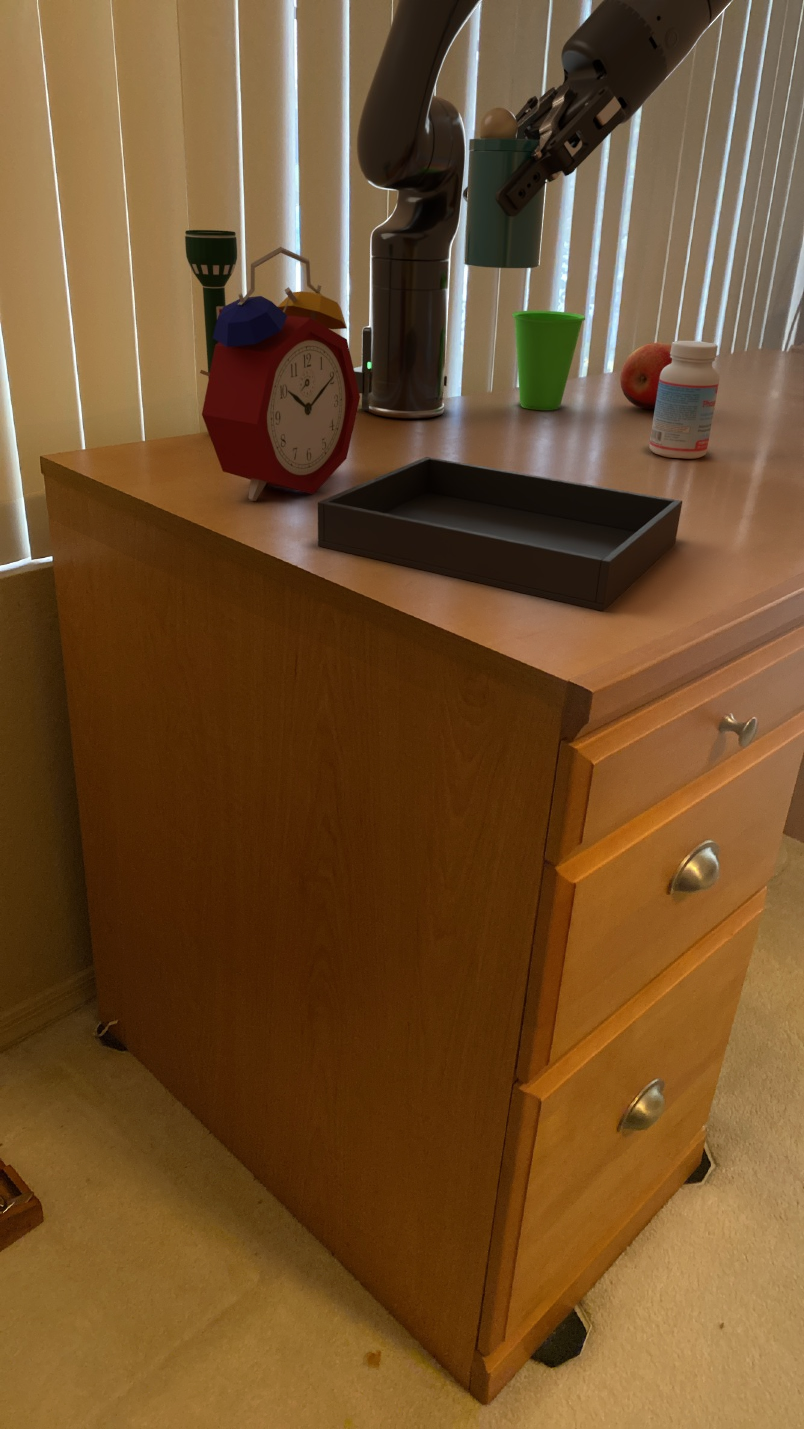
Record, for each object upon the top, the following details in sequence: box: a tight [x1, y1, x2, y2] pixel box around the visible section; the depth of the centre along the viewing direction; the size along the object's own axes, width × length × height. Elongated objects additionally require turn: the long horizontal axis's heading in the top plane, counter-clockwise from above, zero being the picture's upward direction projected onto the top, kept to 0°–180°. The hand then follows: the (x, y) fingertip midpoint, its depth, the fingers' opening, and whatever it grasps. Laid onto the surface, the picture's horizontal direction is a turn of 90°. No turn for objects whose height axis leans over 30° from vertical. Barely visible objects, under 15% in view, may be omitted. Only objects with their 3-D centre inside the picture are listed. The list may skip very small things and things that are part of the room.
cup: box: [511, 310, 586, 411], centre depth 124 cm, size 9×9×11 cm
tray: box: [317, 456, 683, 612], centre depth 77 cm, size 23×17×4 cm
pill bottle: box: [648, 340, 720, 460], centre depth 103 cm, size 6×6×11 cm
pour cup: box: [463, 138, 547, 269], centre depth 80 cm, size 6×6×9 cm
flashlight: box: [184, 229, 238, 380], centre depth 102 cm, size 5×5×20 cm
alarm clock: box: [199, 246, 361, 502], centre depth 85 cm, size 15×9×20 cm, turn 148°
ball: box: [479, 106, 518, 139], centre depth 77 cm, size 3×3×3 cm
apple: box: [619, 342, 672, 410], centre depth 125 cm, size 8×8×8 cm
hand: (486, 205), depth 79 cm, fingers closed on pour cup, 6 cm apart
